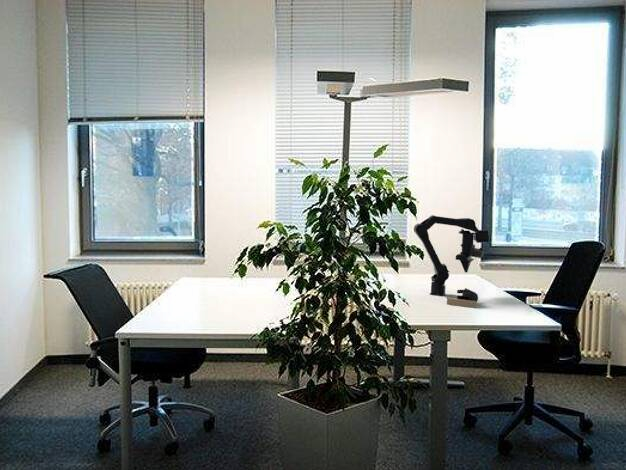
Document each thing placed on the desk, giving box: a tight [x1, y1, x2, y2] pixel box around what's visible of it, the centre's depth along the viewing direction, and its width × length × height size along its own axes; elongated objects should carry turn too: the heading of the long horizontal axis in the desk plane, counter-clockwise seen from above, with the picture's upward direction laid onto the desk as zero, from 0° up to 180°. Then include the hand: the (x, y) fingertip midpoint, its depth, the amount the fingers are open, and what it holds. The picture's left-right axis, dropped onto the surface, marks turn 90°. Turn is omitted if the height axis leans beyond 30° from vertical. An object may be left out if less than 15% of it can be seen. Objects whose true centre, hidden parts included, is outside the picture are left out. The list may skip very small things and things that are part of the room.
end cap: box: [456, 288, 479, 302], centre depth 314 cm, size 10×7×7 cm
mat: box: [446, 297, 485, 309], centre depth 316 cm, size 14×15×3 cm
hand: (466, 272), depth 337 cm, fingers closed
